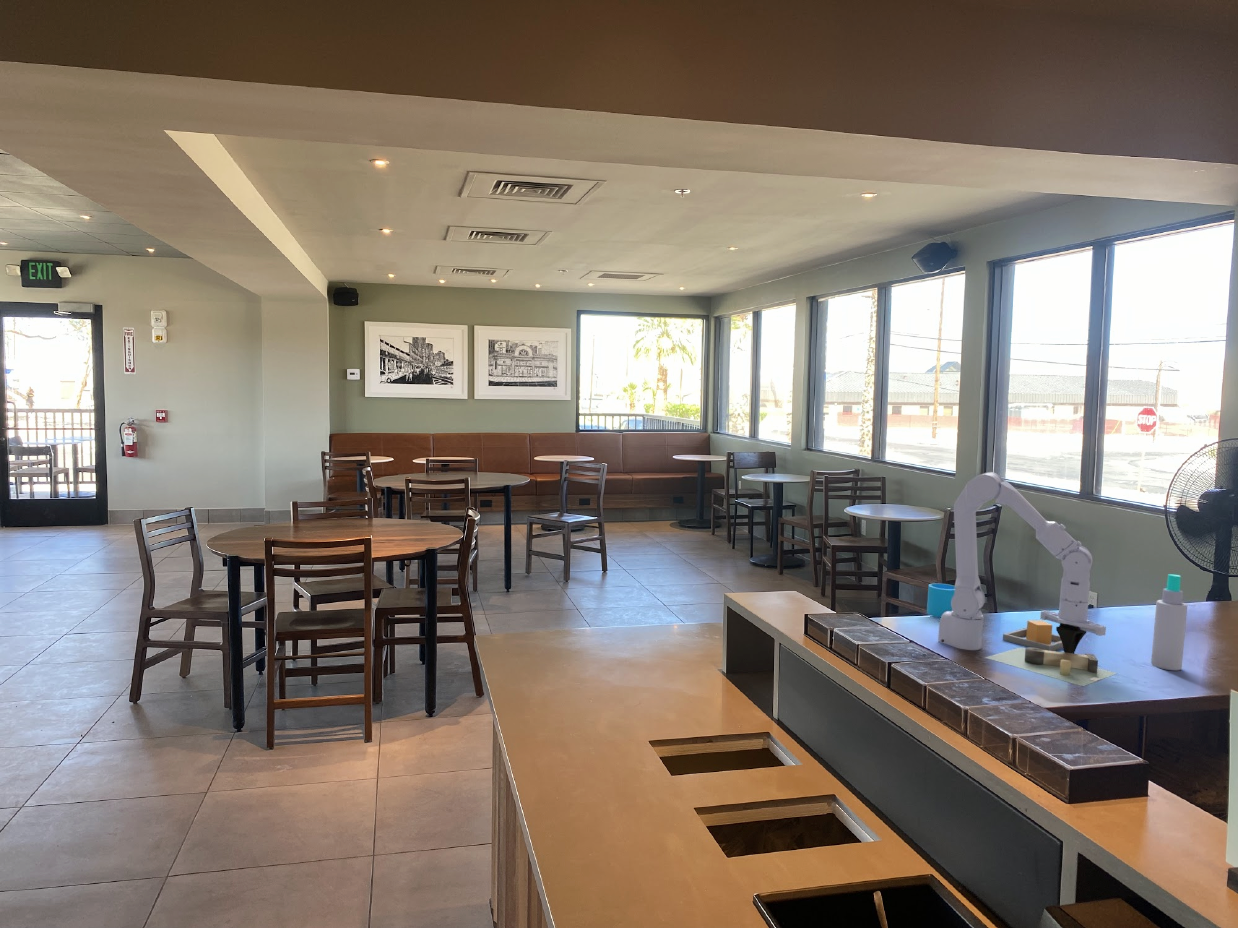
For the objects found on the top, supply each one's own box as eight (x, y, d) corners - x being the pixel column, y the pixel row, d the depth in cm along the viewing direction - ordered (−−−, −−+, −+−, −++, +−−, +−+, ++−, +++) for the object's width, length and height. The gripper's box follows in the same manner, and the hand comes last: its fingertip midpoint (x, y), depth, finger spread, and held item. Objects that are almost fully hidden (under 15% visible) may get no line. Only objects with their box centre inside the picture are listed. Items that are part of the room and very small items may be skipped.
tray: (1002, 645, 207) (1003, 633, 207) (1026, 638, 214) (1027, 627, 214) (1048, 658, 198) (1049, 646, 198) (1072, 650, 205) (1072, 639, 204)
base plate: (984, 663, 192) (985, 644, 191) (1020, 653, 201) (1021, 635, 201) (1082, 692, 174) (1083, 672, 174) (1116, 679, 183) (1118, 660, 183)
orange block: (1035, 648, 203) (1037, 625, 203) (1025, 643, 207) (1027, 620, 207) (1050, 648, 204) (1052, 625, 203) (1040, 643, 208) (1042, 620, 207)
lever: (1025, 663, 188) (1026, 651, 187) (1023, 657, 192) (1024, 645, 192) (1097, 672, 183) (1098, 660, 183) (1092, 666, 188) (1093, 654, 187)
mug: (923, 614, 236) (924, 586, 235) (931, 609, 242) (933, 582, 242) (966, 622, 228) (968, 593, 228) (974, 617, 235) (976, 588, 234)
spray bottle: (1152, 668, 193) (1160, 575, 191) (1149, 661, 198) (1157, 571, 196) (1183, 672, 190) (1191, 579, 188) (1179, 665, 195) (1188, 574, 194)
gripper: (1033, 593, 192) (1029, 650, 194) (1093, 609, 180) (1088, 669, 181) (1053, 591, 196) (1048, 647, 197) (1113, 606, 183) (1108, 665, 184)
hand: (1069, 657), depth 189 cm, fingers closed
